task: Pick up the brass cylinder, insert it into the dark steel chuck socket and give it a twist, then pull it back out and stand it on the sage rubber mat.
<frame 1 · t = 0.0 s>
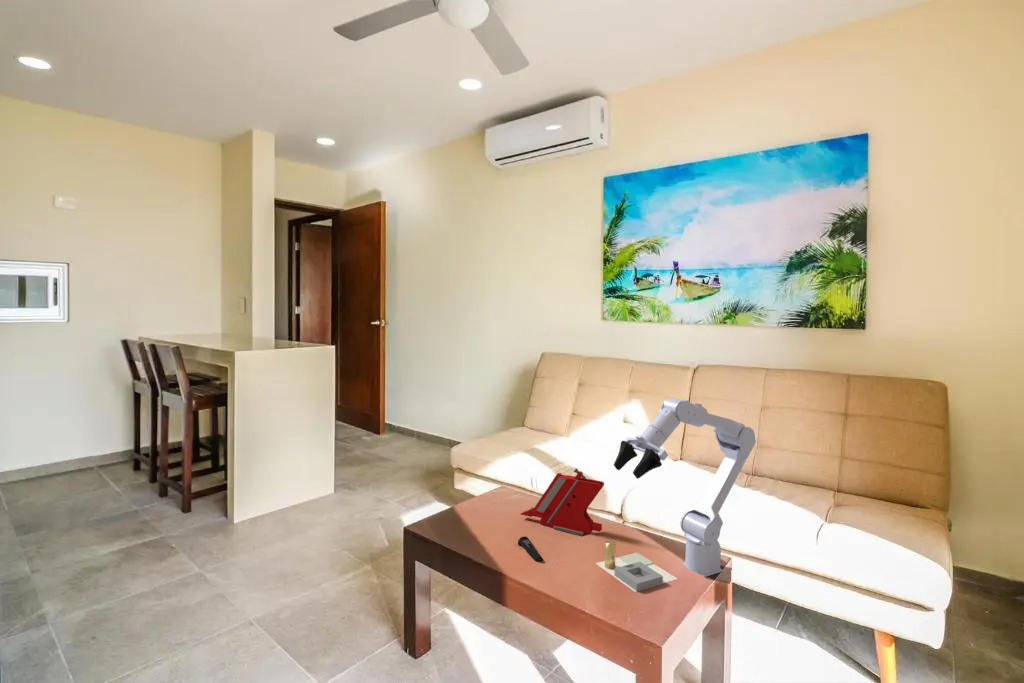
hand: (625, 471, 135), 32 cm above the table, tool tilted 50°, fingers open, 7 cm apart
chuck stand: (635, 574, 146), on the table
tool: (559, 528, 177), on the table
electric trimmer: (530, 554, 158), on the table
brass cylinder: (610, 566, 149), point 1 cm above the table, touching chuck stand
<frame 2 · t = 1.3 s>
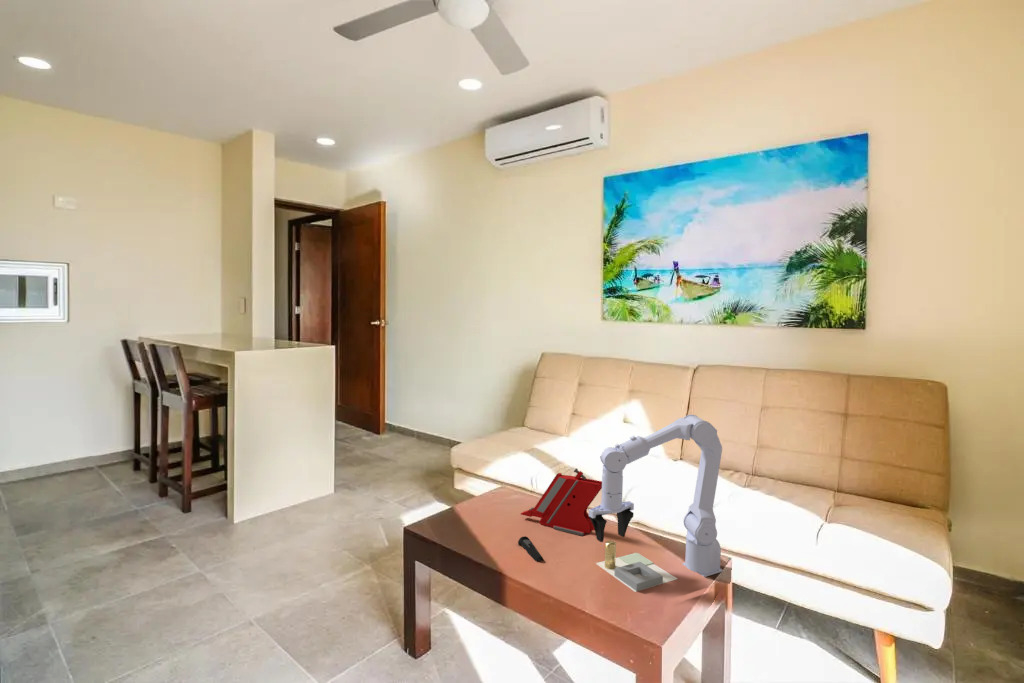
hand: (610, 538, 148), 9 cm above the table, tool pointing down, fingers open, 7 cm apart
nothing on the table moved.
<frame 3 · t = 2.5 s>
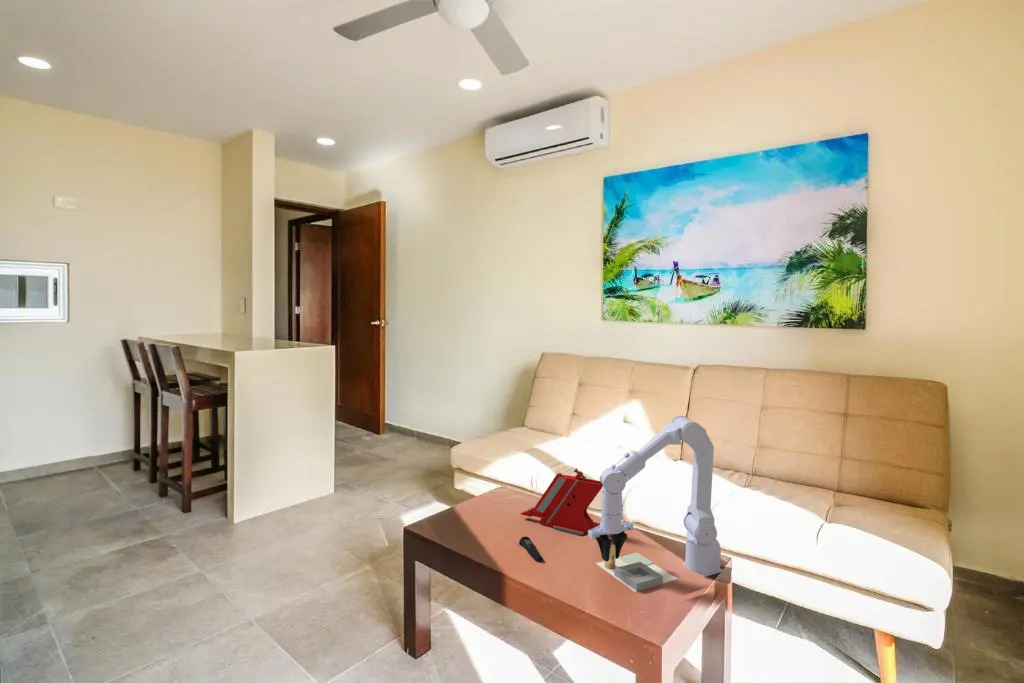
hand: (610, 558, 148), 3 cm above the table, tool pointing down, fingers closed on brass cylinder, 3 cm apart
brass cylinder: (610, 566, 149), point 1 cm above the table, touching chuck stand, gripper
everything else where it was.
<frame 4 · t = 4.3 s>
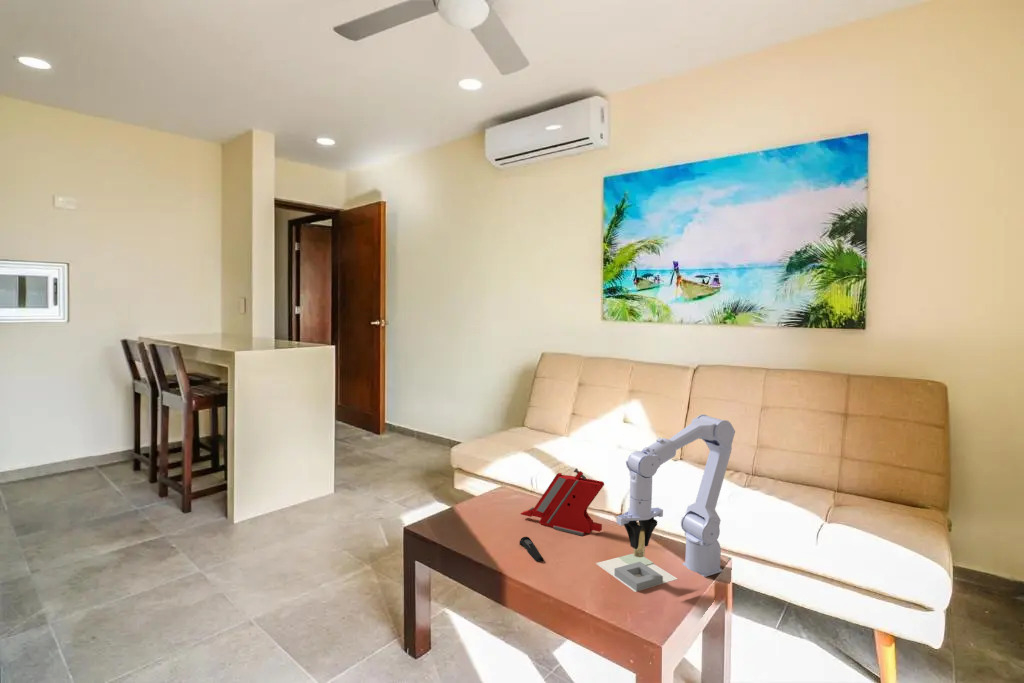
hand: (639, 546, 141), 10 cm above the table, tool pointing down, fingers closed on brass cylinder, 3 cm apart
brass cylinder: (638, 554, 141), point 8 cm above the table, touching gripper
everything else where it was.
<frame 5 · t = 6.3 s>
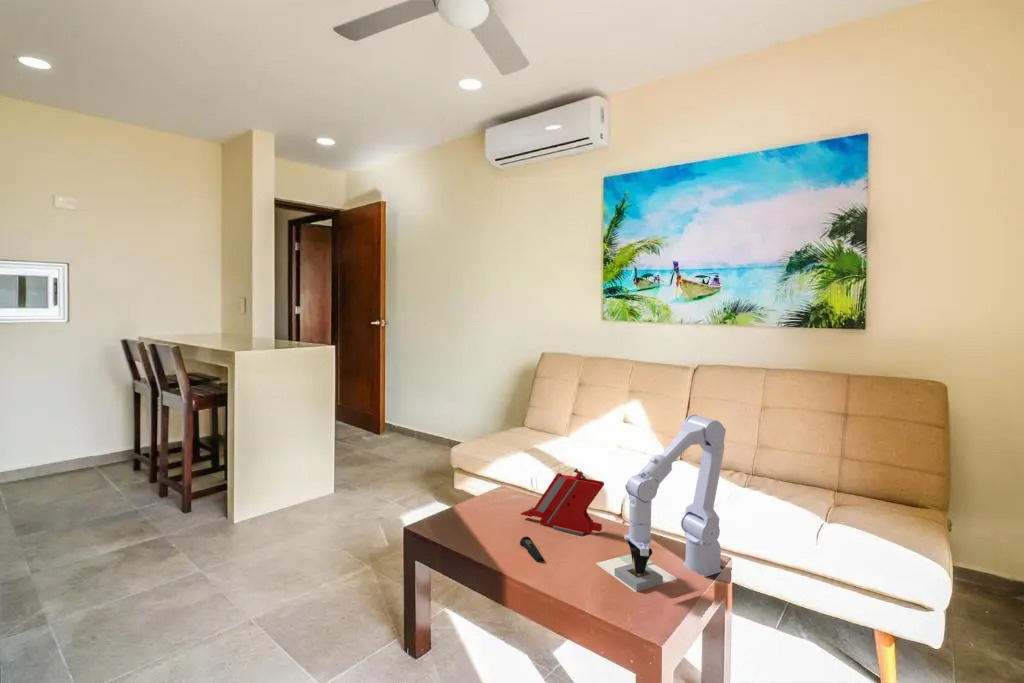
hand: (638, 569, 142), 4 cm above the table, tool pointing down, fingers closed on brass cylinder, 3 cm apart
brass cylinder: (638, 578, 142), point 1 cm above the table, touching gripper
everything else where it was.
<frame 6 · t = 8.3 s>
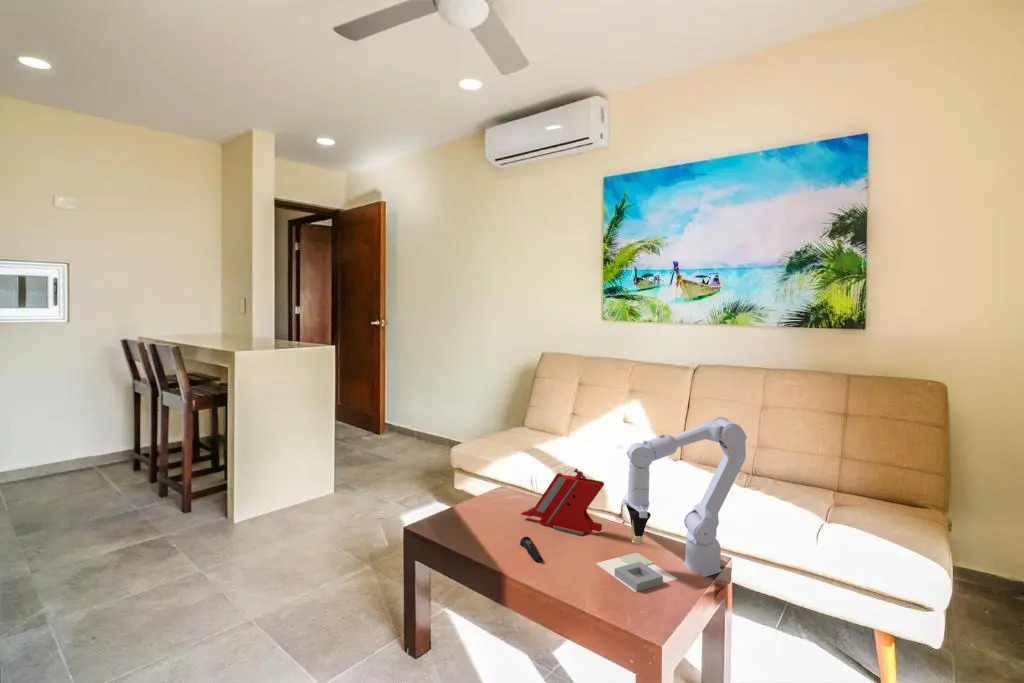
hand: (637, 533, 149), 10 cm above the table, tool pointing down, fingers closed on brass cylinder, 3 cm apart
brass cylinder: (636, 541, 149), point 8 cm above the table, touching gripper
everything else where it was.
when the fingers open (5 cm above the table, at t = 9.9 s): brass cylinder stays where it is, resting on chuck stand.
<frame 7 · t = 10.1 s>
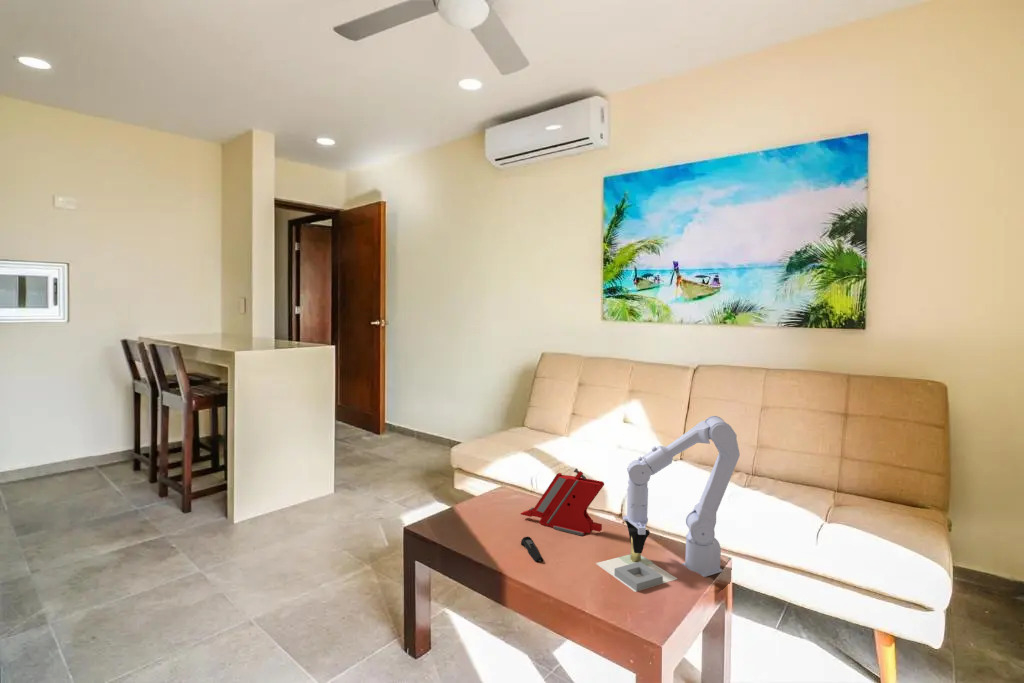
hand: (636, 548, 152), 5 cm above the table, tool pointing down, fingers open, 5 cm apart
brass cylinder: (635, 559, 152), point 1 cm above the table, touching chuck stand
everything else where it was.
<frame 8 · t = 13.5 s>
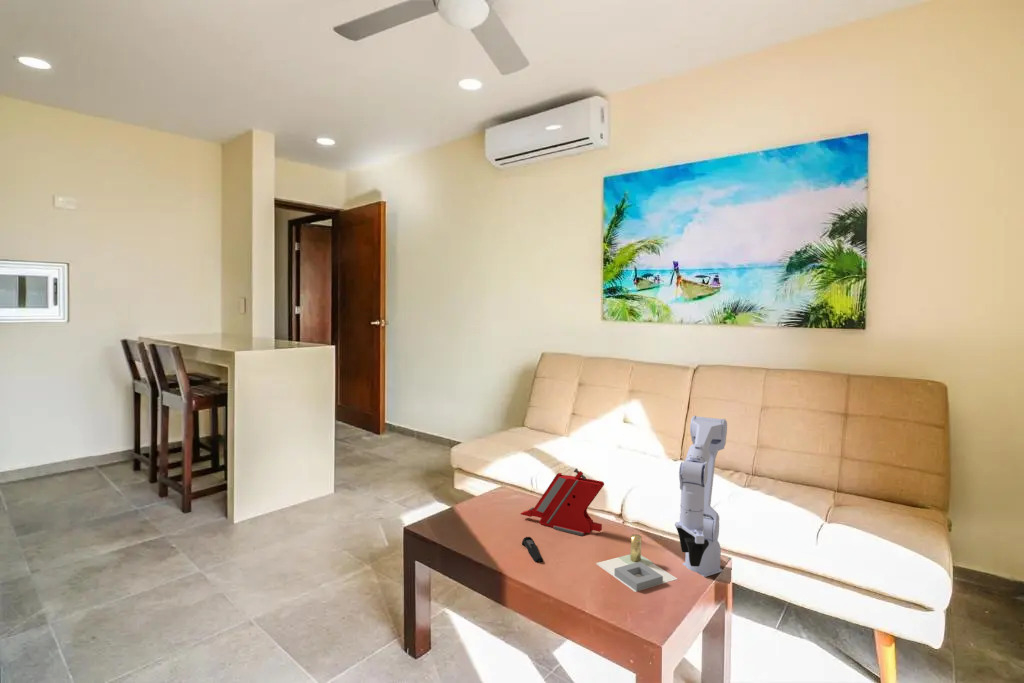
hand: (690, 558, 136), 9 cm above the table, tool pointing down, fingers open, 7 cm apart
nothing on the table moved.
at the end: brass cylinder 0.1 cm from the target spot, point 1.3 cm above the table; brass cylinder tilted 0°; the gripper is holding nothing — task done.
